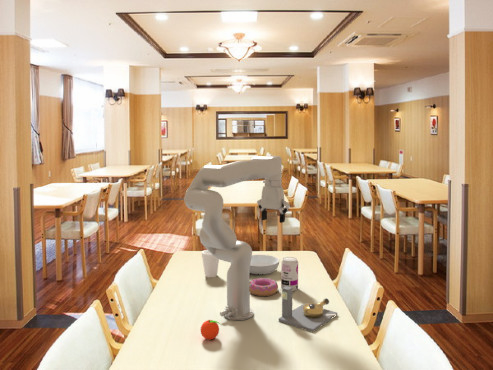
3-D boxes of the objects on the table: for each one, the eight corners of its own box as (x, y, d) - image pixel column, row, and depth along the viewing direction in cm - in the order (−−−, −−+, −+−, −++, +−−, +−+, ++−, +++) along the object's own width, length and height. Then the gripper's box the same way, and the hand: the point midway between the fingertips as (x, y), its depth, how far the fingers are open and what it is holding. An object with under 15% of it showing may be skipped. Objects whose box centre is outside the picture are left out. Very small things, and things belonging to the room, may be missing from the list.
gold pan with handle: (316, 319, 180) (316, 309, 179) (299, 314, 185) (299, 304, 184) (335, 307, 192) (335, 297, 192) (319, 302, 197) (319, 293, 197)
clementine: (222, 334, 170) (222, 316, 170) (221, 342, 164) (221, 324, 163) (201, 334, 170) (200, 316, 169) (200, 343, 163) (199, 324, 162)
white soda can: (297, 286, 222) (298, 256, 220) (298, 292, 214) (298, 261, 212) (281, 285, 223) (281, 256, 221) (281, 291, 215) (281, 261, 213)
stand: (314, 332, 171) (315, 299, 170) (278, 321, 182) (278, 289, 180) (339, 315, 187) (340, 285, 185) (304, 306, 197) (304, 277, 196)
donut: (280, 288, 220) (280, 278, 219) (274, 298, 206) (274, 288, 206) (252, 285, 224) (252, 276, 223) (244, 295, 210) (244, 285, 210)
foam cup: (199, 274, 241) (199, 250, 240) (216, 271, 245) (215, 248, 244) (205, 279, 233) (205, 255, 231) (222, 276, 237) (222, 253, 235)
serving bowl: (235, 269, 250) (234, 257, 249) (268, 264, 258) (268, 252, 258) (251, 280, 231) (251, 267, 230) (286, 275, 240) (286, 262, 239)
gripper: (252, 182, 202) (252, 220, 205) (284, 185, 192) (284, 224, 194) (262, 181, 208) (262, 217, 210) (294, 183, 198) (293, 222, 200)
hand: (273, 221), depth 202 cm, fingers open, 9 cm apart
